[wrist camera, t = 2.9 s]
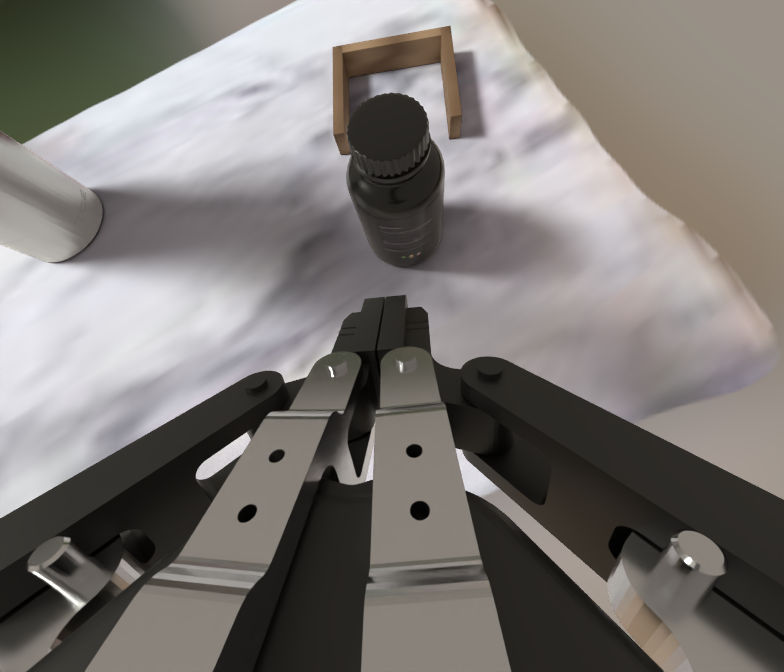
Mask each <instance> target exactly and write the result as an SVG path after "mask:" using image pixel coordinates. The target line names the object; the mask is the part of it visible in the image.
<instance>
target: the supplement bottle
mask: <svg viewBox="0 0 784 672" xmlns="http://www.w3.org/2000/svg"><path fill="white" fill-rule="evenodd" d="M347 130H348V131H347V138H348V144H349V147H350V150H351V157H350V160H349V163H348V167H347V173H346V180H347V186H348V190H349V193H350V196H351V199H352V201H353V204H354V206H355V209H356V211H357V214H358V216H359V219H360V221H361V224H362V226H363V229H364V231H365V234H366V236H367V239H368V241H369V243H370V246H371V248H372V249H373V251H374V252H375V254H376V255H377V256H378V257H379V258H380V259H382V260H383V261H385V262H387V263H389V264H392V265H396V266H411V265H415V264H418V263H420V262H422V261H424V260H425V259H427V258H428V257H429V256H430V255H431V254H432V253H433V252H434V251H435V250H436V248H437V247H438V245H439V242H440V240H441V236H442V226H443V202H444V178H445V169H444V160H443V157H442V154H441V152H440V150H439V148H438V146H437V145H436V144H435V142H434V141H433V140H432V139H431V137H430V133H429V121H428V118H427V113H426V112H425V111H424V108H423V106H421V105H420V103H419V102H418V101H415V100H414V98H412V97H409V96H408V95H402V94H400V93H396V94H395V93H389V94H382V95H376V96H375V97H373V98H370V99H368V100H367V101H366V102H363V103H362V104H361V106H359V107H358V108H357V109H356V111H355V112H354V113H353V114H352V117H351V118H350V120H349V124H348V126H347Z"/></svg>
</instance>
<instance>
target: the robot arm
mask: <svg viewBox="0 0 784 672" xmlns="http://www.w3.org/2000/svg"><path fill="white" fill-rule="evenodd" d="M102 213H103V210H102V204H101V201H100V199H99V197H98V196H97V195H96V194H95V193H94V192H93V191H91V190H89V189H88V188H86V187H85V186H83V185H82V184H80V183H79V182H77V181H76V180H74V179H73V178H71V177H70V176H68V175H67V174H65V173H64V172H62V171H61V170H59V169H58V168H56V167H55V166H53V165H52V164H50V163H49V162H47V161H46V160H44V159H43V158H41V157H40V156H38V155H37V154H35V153H33V152H32V151H30V150H29V149H27V148H26V147H24V146H23V145H21V144H20V143H18V142H17V141H15V140H14V139H12V138H10V137H9V136H7V135H6V134H4V133H3V132H1V131H0V245H3V246H5V247H8V248H10V249H13V250H15V251H18V252H21V253H23V254H26V255H29V256H32V257H34V258H37V259H39V260H42V261H45V262H60V261H63V260H66V259H69V258H71V257H73V256H74V255H76V254H78V253H79V252H80V251H82V250H83V249H84V248H85V247H86V246H87V245H88V244H89V243H90V242H91V241H92V239H93V238H94V236H95V235H96V233H97V231H98V229H99V227H100V224H101V220H102ZM338 335H339V336H338V337H337V340H336V342H335V345H334V347H333V350H332V353H331V354H328V355H326V356H324V357H322V358H321V359H319V360H318V361H317V362H316V363H315V364H314V366H313V367H312V369H311V371H310V373H309V375H308V376H307V377H306V378H303V379H299V380H295V381H292V382H288V383H285V382H284V379H283V377H282V375H281V374H280V373H278V372H275V371H262V372H258V373H255V374H252V375H249V376H247V377H246V378H244V379H242V380H240V381H238V382H237V383H235V384H233V385H232V386H230V387H228V388H226V389H225V390H223V391H221V392H219V393H218V394H216V395H214V396H212V397H211V398H209V399H207V400H205V401H204V402H202V403H200V404H199V405H197V406H195V407H193V408H192V409H190V410H188V411H186V412H185V413H183V414H181V415H179V416H178V417H176V418H174V419H172V420H171V421H169V422H167V423H166V424H164V425H162V426H160V427H159V428H157V429H155V430H153V431H152V432H150V433H148V434H146V435H145V436H143V437H141V438H139V439H138V440H136V441H134V442H133V443H131V444H129V445H127V446H126V447H124V448H122V449H120V450H119V451H117V452H115V453H113V454H112V455H110V456H108V457H106V458H105V459H103V460H101V461H99V462H98V463H96V464H94V465H93V466H91V467H89V468H87V469H86V470H84V471H82V472H80V473H79V474H77V475H75V476H73V477H72V478H70V479H68V480H66V481H65V482H63V483H61V484H60V485H58V486H56V487H54V488H53V489H51V490H49V491H47V492H46V493H44V494H42V495H40V496H39V497H37V498H35V499H33V500H32V501H30V502H28V503H27V504H25V505H23V506H21V507H20V508H18V509H16V510H14V511H13V512H11V513H9V514H7V515H6V516H4V517H2V518H0V672H784V500H783V499H781V498H779V497H777V496H775V495H773V494H771V493H769V492H767V491H765V490H763V489H761V488H759V487H757V486H755V485H753V484H751V483H749V482H747V481H745V480H743V479H741V478H739V477H737V476H735V475H733V474H731V473H729V472H727V471H725V470H723V469H721V468H719V467H717V466H715V465H713V464H711V463H709V462H707V461H705V460H703V459H701V458H699V457H697V456H695V455H694V454H692V453H690V452H688V451H686V450H684V449H682V448H680V447H678V446H676V445H674V444H672V443H670V442H668V441H666V440H664V439H662V438H660V437H658V436H656V435H654V434H652V433H650V432H648V431H646V430H644V429H642V428H640V427H638V426H636V425H634V424H632V423H630V422H628V421H626V420H624V419H622V418H620V417H618V416H616V415H614V414H612V413H610V412H608V411H606V410H604V409H602V408H600V407H598V406H596V405H594V404H592V403H590V402H588V401H586V400H584V399H582V398H580V397H578V396H576V395H574V394H572V393H570V392H568V391H566V390H564V389H562V388H560V387H558V386H556V385H555V384H553V383H551V382H549V381H547V380H545V379H543V378H541V377H539V376H537V375H535V374H533V373H531V372H529V371H527V370H525V369H523V368H521V367H519V366H517V365H515V364H513V363H511V362H509V361H507V360H504V359H501V358H497V357H478V358H474V359H472V360H470V361H468V362H466V363H465V364H464V365H463V367H462V368H461V370H460V369H453V368H449V367H445V366H443V365H441V364H439V363H437V362H436V361H435V360H434V359H433V357H432V355H431V347H430V336H429V324H428V313H427V312H426V311H425V310H424V309H423V308H422V307H414V308H408V306H407V298H406V295H401V296H390V297H386V299H385V297H379V298H368V299H365V300H364V303H363V307H362V310H361V312H357V313H351V314H350V315H349V316H348V317H347V318H346V319H345V320H344V321H343V324H342V327H341V330H340V332H339V334H338ZM246 432H247V433H248V435H249V437H250V439H251V441H250V443H249V444H248V446H247V447H246V449H245V451H244V452H243V454H242V455H240V456H239V457H238V458H236V459H235V460H233V461H232V462H231V463H229V464H228V465H227V466H225V467H224V468H222V469H221V470H220V471H218V472H217V473H216V474H214V475H213V476H211V477H209V478H207V479H204V480H198V479H196V472H197V469H198V468H199V466H200V465H201V464H202V463H203V462H204V461H205V460H207V459H208V458H209V457H211V456H212V455H214V454H215V453H217V452H218V451H220V450H221V449H223V448H224V447H225V446H227V445H228V444H230V443H231V442H233V441H234V440H236V439H237V438H239V437H240V436H241V435H243V434H244V433H246ZM373 445H374V469H373V480H370V481H367V482H365V481H366V477H367V472H368V468H369V463H370V459H371V454H372V450H373ZM455 448H457V449H461V450H462V451H463V454H464V456H465V458H466V459H467V460H468V461H469V462H470V463H471V464H472V465H473V466H475V467H476V468H477V469H478V470H479V471H480V472H481V473H483V474H484V475H485V476H486V477H487V478H488V479H489V480H491V481H492V482H493V483H494V484H495V485H496V486H497V487H499V488H500V489H501V490H502V491H503V492H504V493H506V494H507V495H508V496H509V497H510V498H511V499H512V500H514V501H515V502H516V503H517V504H518V505H519V506H520V507H521V508H523V509H524V510H525V511H526V512H527V513H528V514H529V515H531V516H532V517H533V518H534V519H535V520H537V522H539V523H540V524H541V525H542V526H543V527H544V528H545V529H547V530H548V531H549V532H550V533H551V534H552V535H553V536H555V537H556V538H557V539H558V540H559V541H560V542H561V543H563V544H564V545H565V546H566V547H567V548H568V549H570V550H571V551H572V552H573V553H574V554H575V555H576V556H577V557H579V558H580V559H581V560H582V561H583V562H584V563H585V564H587V565H588V566H589V567H590V568H591V569H592V570H594V571H595V572H596V573H597V574H598V575H599V576H600V577H602V578H603V579H604V580H605V581H606V582H607V583H608V584H607V589H608V596H609V600H610V603H611V606H612V608H613V611H614V613H615V615H616V616H617V618H618V620H619V621H620V623H621V624H622V626H623V627H624V628H625V630H626V631H627V632H628V633H629V634H630V636H631V637H632V638H633V639H634V640H635V641H636V642H637V643H638V645H639V646H640V647H641V648H642V649H643V650H642V649H641V648H640V647H639V646H638V645H637V644H636V643H635V642H634V641H633V640H632V639H631V638H630V637H629V636H628V635H627V634H626V633H625V632H624V631H623V630H622V629H621V628H620V627H619V626H618V625H617V624H616V623H615V622H614V621H613V620H612V619H611V618H610V617H609V616H608V615H607V614H606V613H605V612H604V611H603V610H602V609H601V608H600V607H599V606H598V605H597V604H596V603H595V602H594V601H593V600H592V599H591V598H590V597H589V596H588V595H587V594H586V593H585V592H584V591H583V590H582V589H581V588H580V587H579V586H578V585H577V584H575V582H573V580H572V579H571V578H570V577H569V576H568V575H567V574H565V572H564V571H563V570H562V569H561V568H559V567H558V565H556V564H555V563H554V562H553V561H552V560H551V559H550V558H549V557H548V556H547V555H546V554H545V553H544V552H543V551H542V550H541V549H540V548H539V547H538V546H537V545H536V544H535V543H534V542H533V541H532V540H531V539H530V538H529V537H528V536H527V535H526V534H525V533H524V532H523V531H522V530H521V529H520V528H519V527H518V526H517V525H516V524H515V523H514V522H513V521H512V520H511V519H510V518H509V517H508V516H507V515H505V514H504V513H503V512H502V511H500V510H499V509H498V508H497V507H495V506H494V505H492V504H491V503H489V502H488V501H486V500H484V499H483V498H481V497H479V496H477V495H475V494H473V493H471V492H468V491H465V488H464V484H463V480H462V475H461V471H460V467H459V462H458V458H457V454H456V449H455Z"/></svg>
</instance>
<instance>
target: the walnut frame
mask: <svg viewBox="0 0 784 672" xmlns="http://www.w3.org/2000/svg"><path fill="white" fill-rule="evenodd" d="M437 62H441V71H442V79H443V88H444V97H445V106H446V115H447V123H448V132H449V139H455V138H460V128H461V118H462V113H461V105H460V97H459V90H458V82H457V74H456V66H455V58H454V51H453V43H452V35H451V27H450V26H446V27H441V28H435V29H430V30H424V31H419V32H413V33H408V34H402V35H397V36H391V37H386V38H380V39H375V40H369V41H364V42H358V43H353V44H347V45H342V46H336V47H333V135H334V137H335V140H336V143H337V146H338V148H339V151H340V154H341V155H343V154H350V147H349V144H348V138H347V131H348V130H347V126H348V124H349V120H350V119H349V77H354V76H360V75H366V74H372V73H378V72H384V71H390V70H395V69H401V68H407V67H413V66H419V65H425V64H431V63H437Z"/></svg>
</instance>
